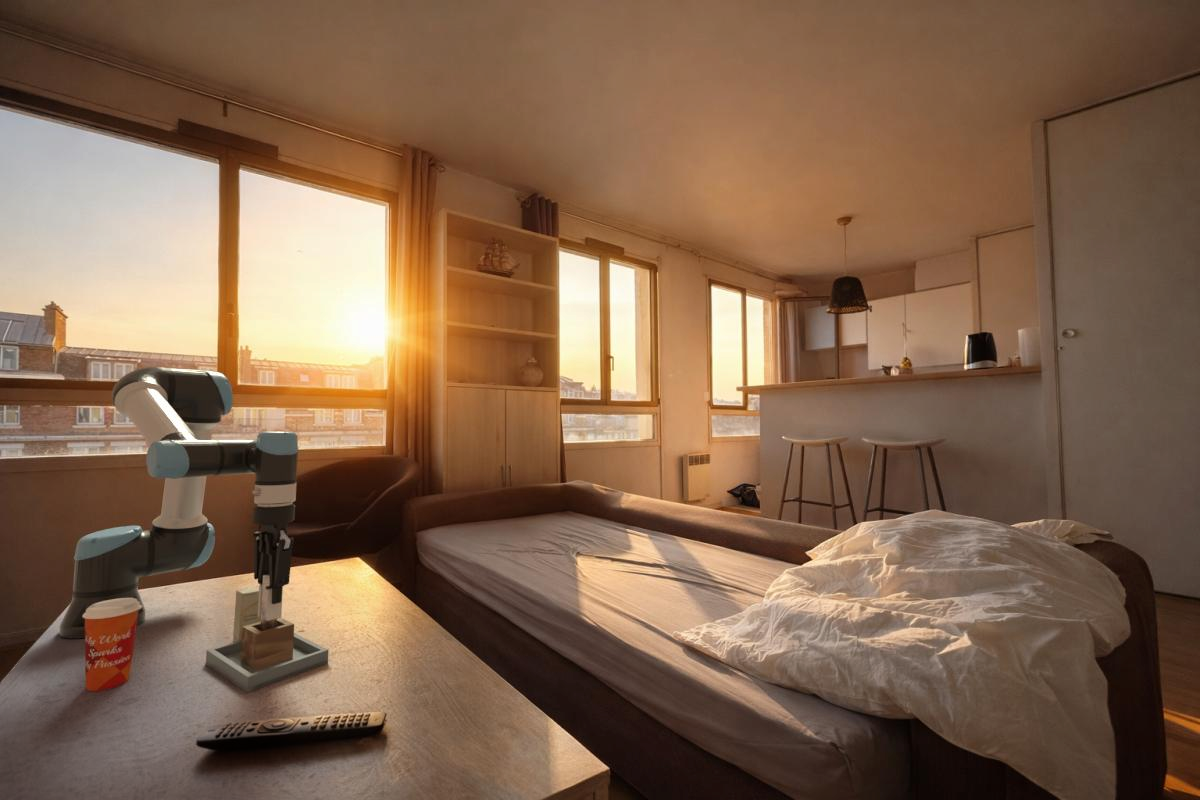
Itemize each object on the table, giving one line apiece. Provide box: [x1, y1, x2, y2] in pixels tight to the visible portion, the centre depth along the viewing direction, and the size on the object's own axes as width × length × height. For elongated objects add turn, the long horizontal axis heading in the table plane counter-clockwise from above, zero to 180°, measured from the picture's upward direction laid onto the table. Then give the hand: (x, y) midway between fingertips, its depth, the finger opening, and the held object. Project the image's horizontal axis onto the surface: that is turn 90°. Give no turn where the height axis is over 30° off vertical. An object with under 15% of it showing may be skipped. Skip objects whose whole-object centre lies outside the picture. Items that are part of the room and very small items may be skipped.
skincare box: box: [232, 585, 261, 642], centre depth 118 cm, size 6×4×12 cm
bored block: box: [241, 617, 295, 670], centre depth 108 cm, size 7×7×7 cm
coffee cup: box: [82, 598, 142, 692], centre depth 99 cm, size 8×8×15 cm
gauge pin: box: [260, 573, 278, 631], centre depth 109 cm, size 3×3×14 cm
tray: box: [205, 632, 329, 694], centre depth 108 cm, size 20×15×3 cm
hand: (269, 616), depth 108 cm, fingers closed on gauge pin, 3 cm apart
